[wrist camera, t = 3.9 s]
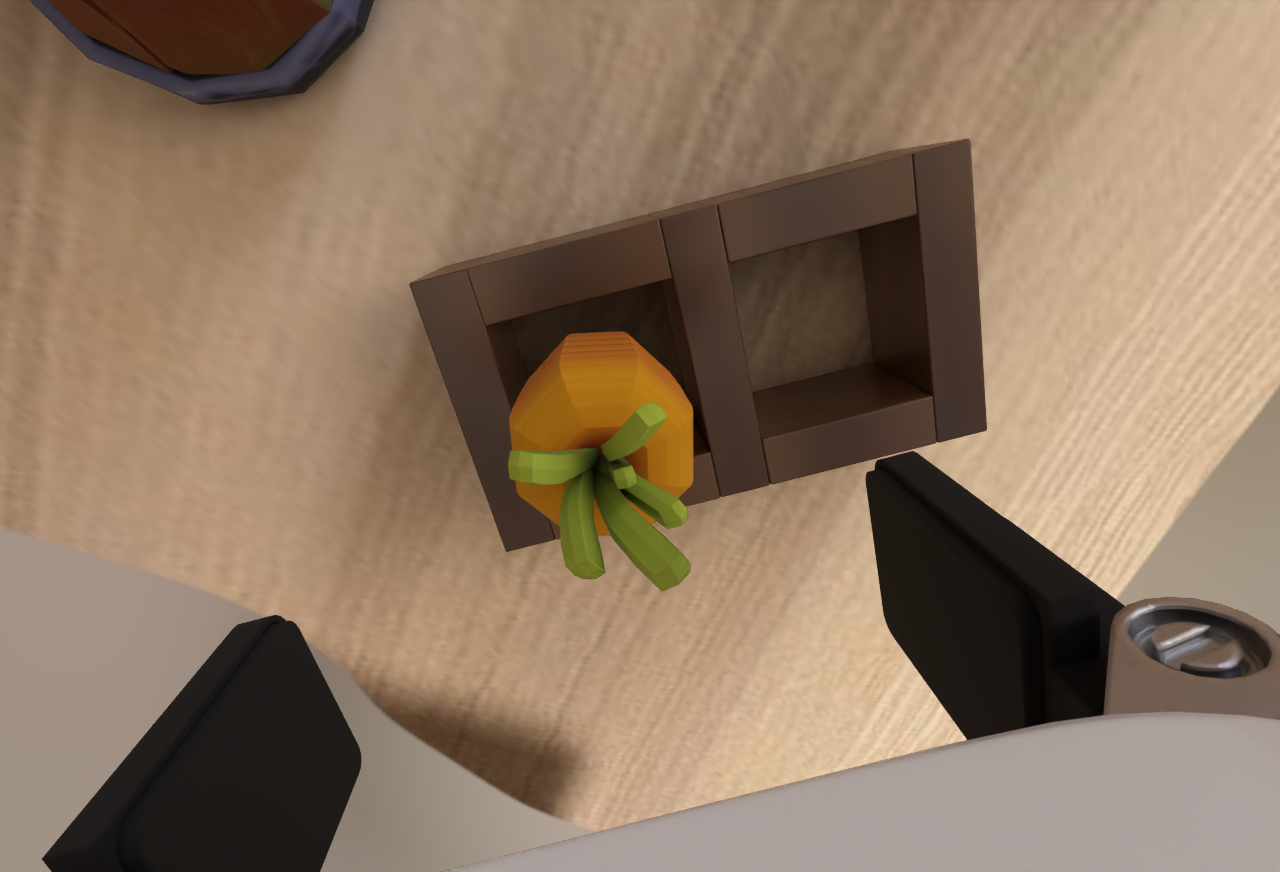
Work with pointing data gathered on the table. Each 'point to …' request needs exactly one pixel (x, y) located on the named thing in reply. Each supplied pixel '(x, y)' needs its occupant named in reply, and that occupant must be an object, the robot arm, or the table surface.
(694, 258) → the holder
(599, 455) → the carrot
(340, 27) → the mug
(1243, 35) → the table surface
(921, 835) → the robot arm
